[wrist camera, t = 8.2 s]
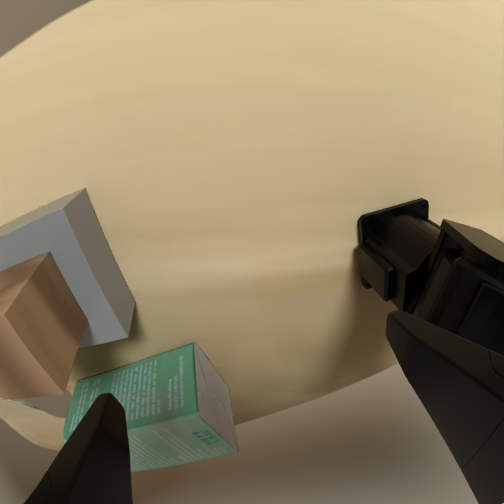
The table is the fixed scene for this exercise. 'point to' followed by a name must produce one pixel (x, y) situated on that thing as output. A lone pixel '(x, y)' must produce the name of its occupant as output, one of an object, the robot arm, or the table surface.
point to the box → (165, 408)
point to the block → (37, 329)
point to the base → (75, 262)
